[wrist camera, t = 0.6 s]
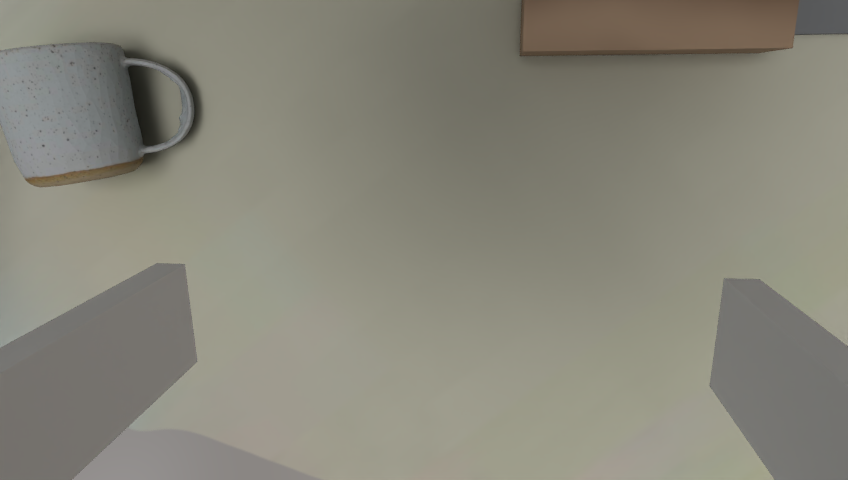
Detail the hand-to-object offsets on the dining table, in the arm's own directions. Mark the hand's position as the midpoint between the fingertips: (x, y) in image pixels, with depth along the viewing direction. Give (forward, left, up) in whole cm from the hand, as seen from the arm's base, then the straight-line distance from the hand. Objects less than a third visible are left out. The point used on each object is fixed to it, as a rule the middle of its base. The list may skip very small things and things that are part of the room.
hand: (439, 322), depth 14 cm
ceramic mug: (-5, -24, -25) cm, 35 cm away
